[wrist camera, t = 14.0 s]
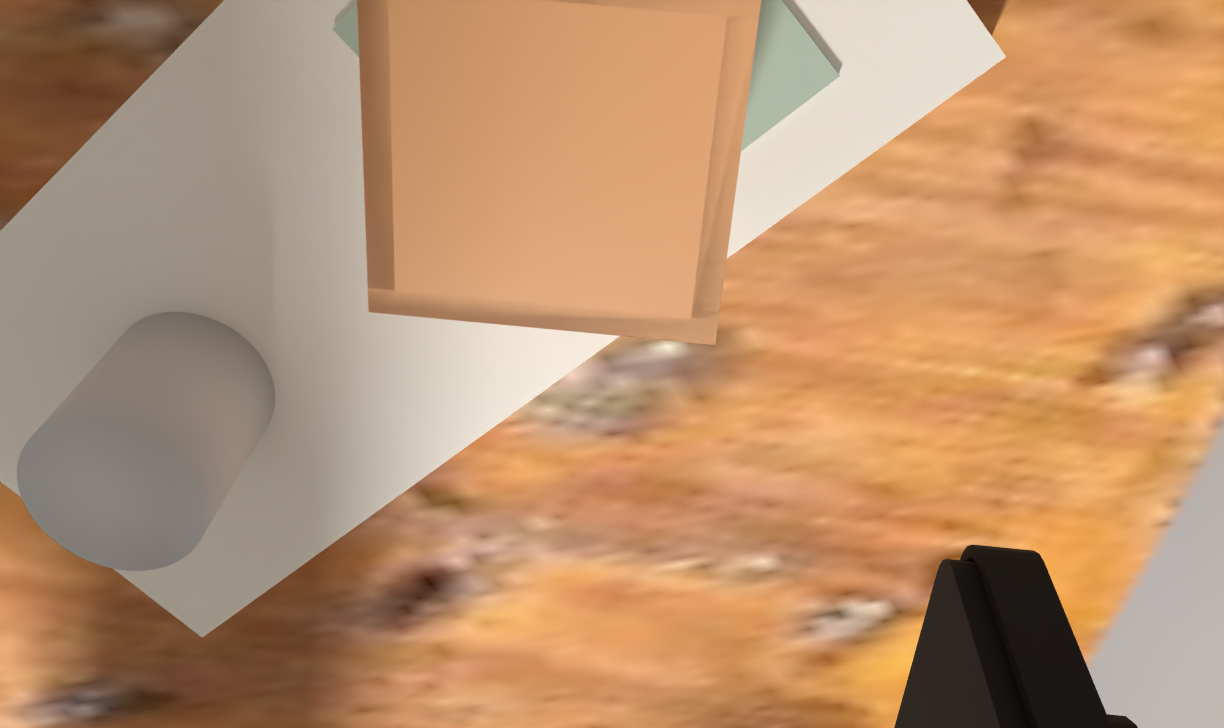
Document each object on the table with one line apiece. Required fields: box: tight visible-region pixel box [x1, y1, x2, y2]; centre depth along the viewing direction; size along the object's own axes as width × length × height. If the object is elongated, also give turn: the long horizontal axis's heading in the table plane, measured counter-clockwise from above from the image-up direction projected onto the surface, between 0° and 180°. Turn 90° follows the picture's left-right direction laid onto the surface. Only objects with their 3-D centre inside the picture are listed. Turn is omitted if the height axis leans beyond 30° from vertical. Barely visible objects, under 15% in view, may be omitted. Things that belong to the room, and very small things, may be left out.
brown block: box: [357, 0, 761, 345], centre depth 23 cm, size 6×6×7 cm
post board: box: [0, 0, 1006, 638], centre depth 27 cm, size 12×28×6 cm, turn 131°
